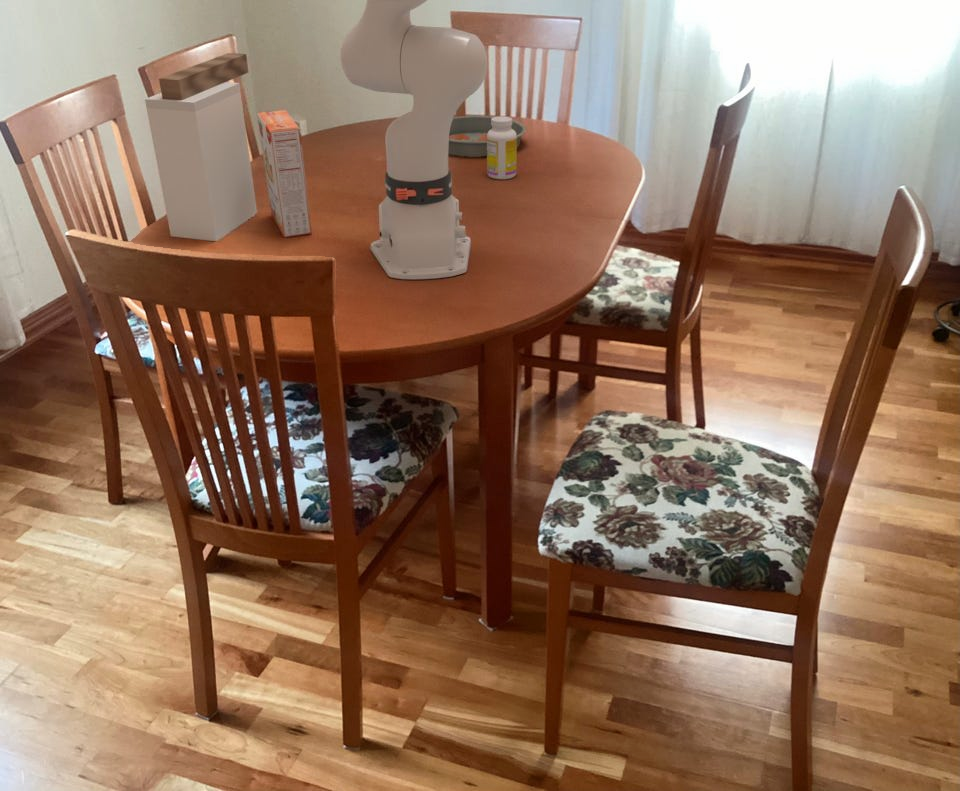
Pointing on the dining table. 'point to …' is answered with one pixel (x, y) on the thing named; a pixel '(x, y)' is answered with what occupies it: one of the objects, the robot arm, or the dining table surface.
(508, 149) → the supplement bottle
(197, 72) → the walnut bar
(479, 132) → the cake pan
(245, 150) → the grey pedestal
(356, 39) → the robot arm
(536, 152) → the dining table surface
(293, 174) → the cracker box
